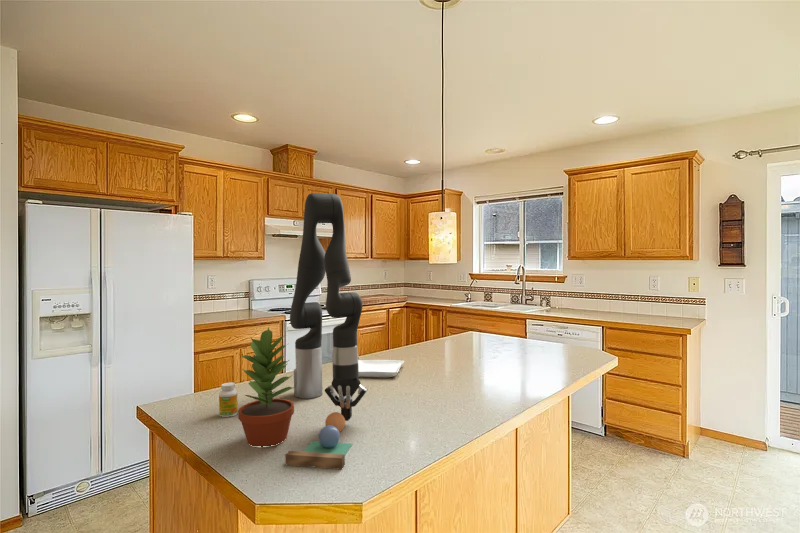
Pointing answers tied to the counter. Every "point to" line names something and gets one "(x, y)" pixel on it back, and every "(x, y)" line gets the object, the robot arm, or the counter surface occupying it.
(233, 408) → the supplement bottle
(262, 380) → the potted plant
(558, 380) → the counter surface
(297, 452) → the stopper wall
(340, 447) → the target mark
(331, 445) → the object ball
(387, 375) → the salad plate
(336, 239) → the robot arm
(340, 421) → the orange ball
